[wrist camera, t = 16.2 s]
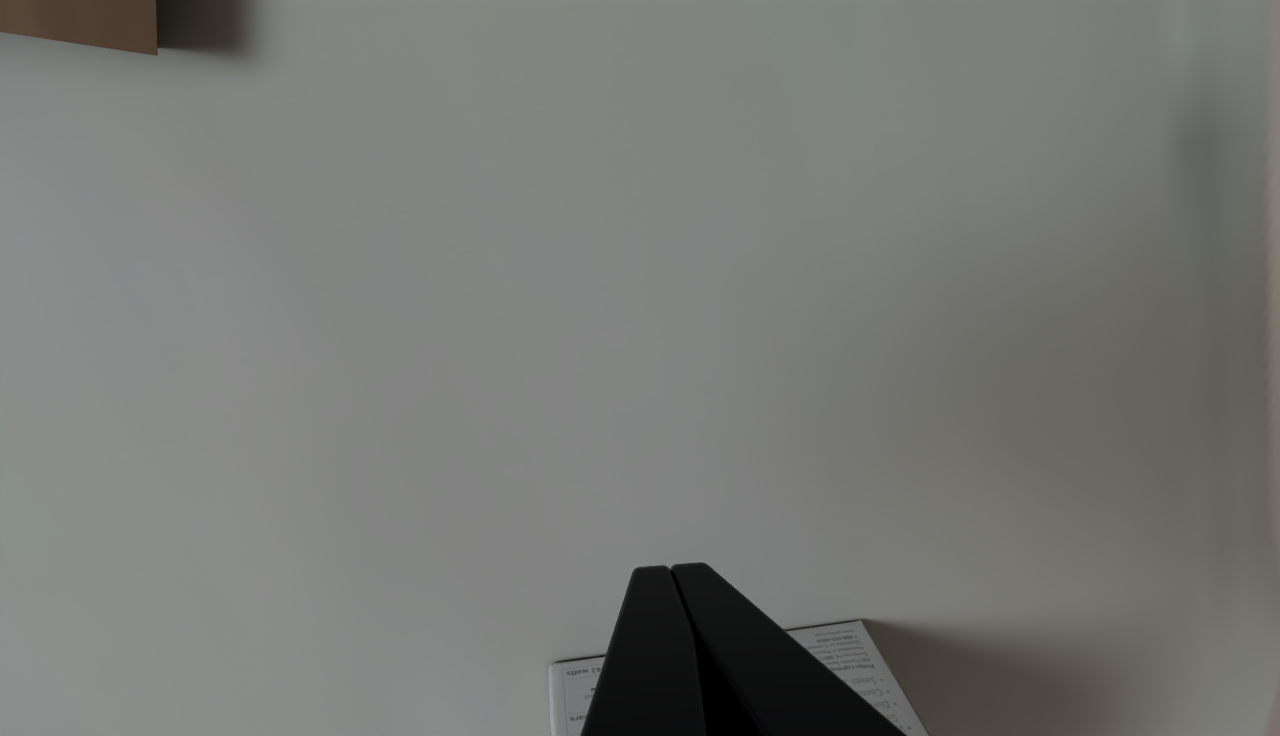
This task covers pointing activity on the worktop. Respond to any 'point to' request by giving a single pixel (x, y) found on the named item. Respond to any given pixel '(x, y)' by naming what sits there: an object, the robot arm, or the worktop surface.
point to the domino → (85, 22)
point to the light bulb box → (833, 645)
